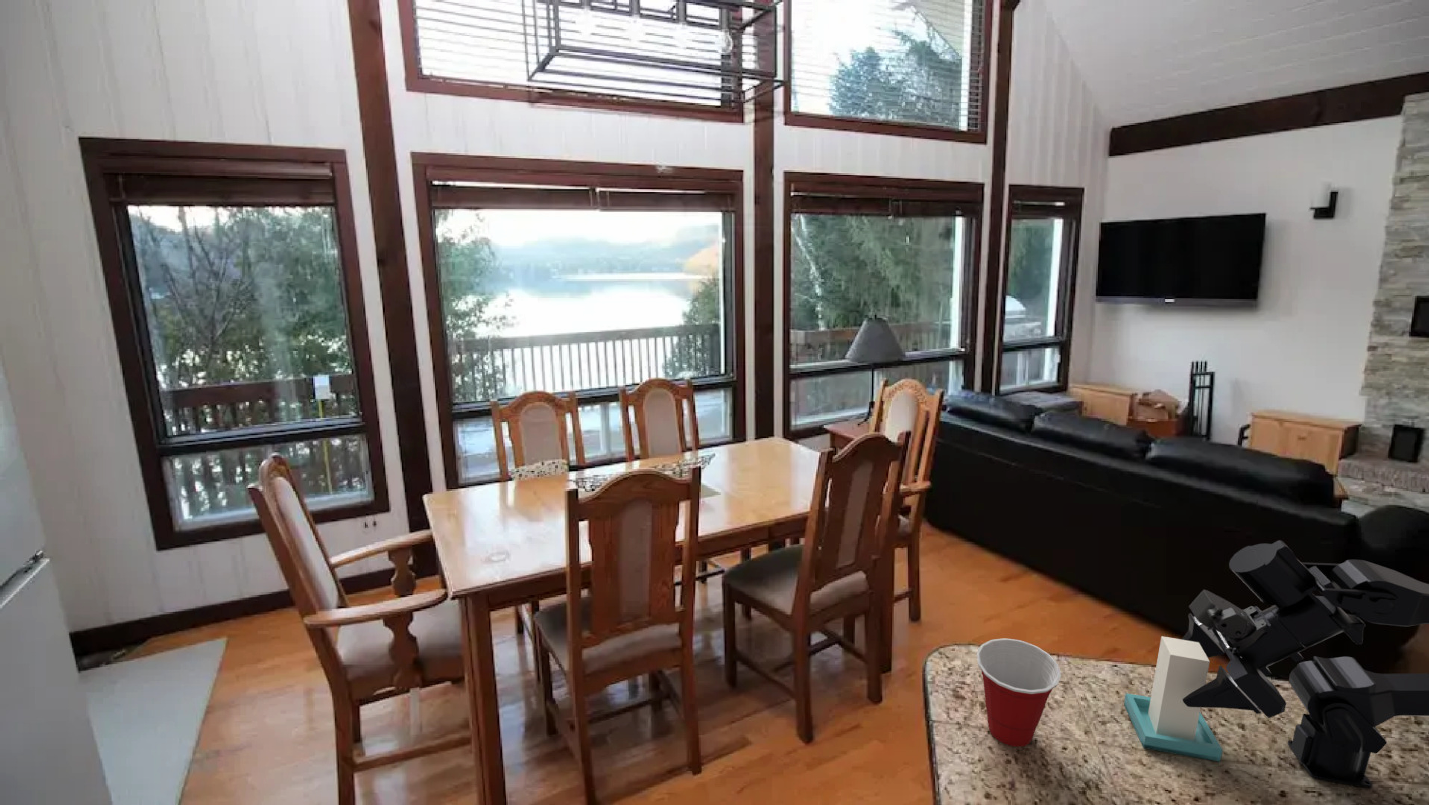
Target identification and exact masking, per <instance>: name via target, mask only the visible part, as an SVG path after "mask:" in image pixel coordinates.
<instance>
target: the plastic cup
mask: <svg viewBox="0 0 1429 805" xmlns="http://www.w3.org/2000/svg"><path fill="white" fill-rule="evenodd" d="M976 659H977V660H976V661H977V666H978V667H979V669H980V671H981V675H982V680H983V691H984V702H985V709H986V715H987V716H986V717H987V725H988V728H989V732H990V733H991V735H992V737H993V738H995V739H997V741H998V742H1001V743H1003V744H1005V745H1007V746H1010V747H1014V748H1015V747H1016V748H1018V747H1019V748H1020V747H1026V746H1027V745H1029V744H1030V742H1032V740H1033V738H1034V735H1035V733H1036V729H1037V727H1038V725H1039V723H1040V720H1041V719H1042V718H1041V717H1042V715H1043V713H1044V709H1045V707H1046V704H1047V701H1048V699H1049V696H1050V694H1051V693H1052V691H1053V689H1054V688H1056V687H1057V686H1058V685H1059V683H1060V679H1061V677H1062V672H1061V668H1060V665H1059V664H1058V662H1057V661H1056V660H1055V659H1054V658H1053V657H1052V656H1051V655H1050V653H1049V652H1046V651H1045V650H1043V649H1042V648H1040V647H1039V646H1037V645H1034V644H1032V643H1030V642H1027V641H1023V640H1020V639H1013V638H1004V637H1003V638H996V639H995V638H994V639H990V640H989V641H986V642H984V643H983V644H981V645H980V646H979V648H978V649H977V652H976Z"/></svg>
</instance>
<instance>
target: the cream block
mask: <svg viewBox="0 0 1429 805" xmlns="http://www.w3.org/2000/svg"><path fill="white" fill-rule="evenodd" d="M1181 639H1182V638H1181ZM1181 639H1180V638H1174V637H1168V636H1161V637H1160V642H1159V649H1158V655H1157V660H1156V666H1155V671H1154V678H1153V682H1152V683H1153V684H1152V687H1151V688H1152V689H1151V695H1150V697H1151V700H1150V705H1149V711H1148V714H1149V717H1150V720H1151V722H1152V725H1153V728H1154V730H1155V733H1156V734H1158V735H1164V736H1170V737H1176V738H1182V739H1187V740H1193V741H1194V739H1195V734H1196V729H1197V724H1198V719H1199V713H1201V709H1202V707H1188V706H1186V704H1185V703H1184V702H1183V700H1182V699H1183V698H1185V697H1186V696H1187V695H1189V694H1190V693H1192V692H1194V691H1195V690H1197V689H1199V688H1200V687H1202V686H1204V685H1206V684H1207V683H1206V681H1207V677H1208V672H1209V667H1210V662H1211V661H1210V660H1209V658H1207V656H1206V654H1205V652H1204V651H1203V649H1202V647H1201V645H1200V644H1199V642H1193V641H1187V640H1181Z"/></svg>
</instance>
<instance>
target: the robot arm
mask: <svg viewBox="0 0 1429 805" xmlns="http://www.w3.org/2000/svg"><path fill="white" fill-rule="evenodd" d="M1228 565H1229V569H1230V570H1231V571H1232V572H1233V573H1234V574H1235V575H1236V577H1238V578H1239V579H1240V580H1241V581H1242V583H1244V584H1245V585H1246V586H1247V587H1248V589H1249V590H1250V591H1251V592H1252V593H1253V594H1254V595H1255V596H1256V597H1257V598H1258V599H1259V600H1260V602H1262V603H1264V604H1265V605H1271V607H1267V608H1266V609H1264V610H1261V609H1260V608H1259V607H1258V606H1256V605H1255V606H1252V605H1250V606H1249V607H1247V608H1244V609H1241V608H1240V607H1238V606H1237V605H1235V604H1233V603H1231V602H1230V601H1228V600H1226V599H1225V598H1223V597H1221V596H1219V595H1216V594H1215V593H1213V592H1211V591H1209V590H1206V589H1202V591H1201V592H1200V593H1199V594H1198V595H1197V597H1195V599H1194V600H1193V601H1192V602H1191V604H1189V606H1188V608H1189V609H1190V611H1191V612H1192V613H1188V616H1187V617H1188V621H1189V622H1188V630H1187V631H1186V632H1185V633H1184V636H1183V637H1182V638H1181V640H1187V641H1193V642H1199V644H1200V645H1201V647H1202V649H1203V651H1204V652H1205V654H1206V656H1207V658H1208V659H1209V658H1213V657H1219V656H1222V655H1225V653H1226V655H1227V656H1228V658H1229V660H1230V661H1229V662H1228V663H1227V665H1226V667H1225V668H1224V667H1223V666H1222V665H1220V664H1219V666H1218V669H1217V672H1216V676H1215V678H1214V679H1212V680H1211V681H1209V682H1207V683H1205V685H1204V686H1202V687H1200V688H1199V689H1197V690H1195V691H1194V692H1192V693H1190V694H1189V695H1187V696H1186V697H1185V698H1183V699H1182V700H1183V702H1184V703H1185V704H1186V706H1188V707H1201V708H1208V709H1209V708H1212V709H1213V708H1214V709H1231V710H1232V709H1234V710H1244V711H1252V712H1254V713H1255V714H1256V715H1259V714H1262V713H1263V714H1264V715H1265V716H1266V718H1268V719H1271V718H1273V717H1275V716H1277V715H1281V714H1283V713H1285V711H1286V706H1287V702H1286V701H1285V699H1284V697H1283V696H1282V694H1281V693H1280V691H1279V690H1278V688H1277V686H1276V685H1275V684H1273V682H1272V681H1271V680H1270V679H1269V678H1268V676H1270V675H1271V674H1272V672H1271V671H1270V669H1269V666H1272V665H1274V664H1276V663H1278V662H1281V661H1283V660H1285V659H1287V658H1289V657H1290V658H1291V659H1292V660H1293V661H1294V663H1297V665H1296V666H1295V667H1294V668H1293V669H1292V670H1291V672H1290V673H1289V679H1288V682H1289V684H1290V686H1291V689H1292V690H1293V692H1294V693H1295V694H1296V696H1297V698H1298V699H1299V701H1300V702H1301V704H1302V706H1303V707H1304V708H1305V709H1306V711H1307V712H1308V713H1303V714H1302V716H1301V721H1300V723H1297V724H1296V726H1295V729H1294V733H1293V738H1292V740H1288V741H1287V746H1288V747H1289V748H1290V750H1291V751H1292V753H1293V754H1294V755H1295V756H1296V758H1297V759H1298V761H1300V763H1301V765H1302V766H1303V768H1304V769H1305V770H1306V771H1307V773H1308V774H1309V775H1310V776H1311V777H1312V778H1313V779H1317V780H1322V781H1327V782H1331V783H1340V784H1342V785H1343V784H1345V785H1348V786H1349V785H1350V786H1355V787H1360V788H1367V789H1372V788H1373V785H1374V784H1373V782H1372V781H1371V780H1370V779H1369V777H1367V776H1366V772H1367V769H1368V765H1369V761H1370V758H1371V754H1379V752H1380V751H1381V750H1382V749H1383V748H1384V747H1385V746H1386V745H1387V740H1386V738H1385V737H1384V736H1383V735H1382V733H1381V732H1380V730H1378V728H1377V727H1378V726H1380V725H1382V724H1383V723H1385V722H1387V721H1389V720H1391V719H1393V718H1395V717H1406V716H1407V717H1411V716H1413V717H1414V716H1415V717H1429V672H1423V673H1420V672H1419V673H1413V672H1411V673H1410V672H1409V673H1378V672H1377V673H1376V672H1373V671H1370V670H1366V669H1364V668H1363V667H1362V666H1361V664H1360V663H1359V662H1358V661H1357V659H1356V658H1355V657H1351V656H1339V657H1330V658H1329V657H1327V658H1326V657H1320V656H1316V655H1314V656H1313V660H1308V661H1307V660H1306V661H1302V660H1304V657H1303V656H1302V654H1301V653H1300V652H1303V651H1304V650H1306V649H1310V648H1311V647H1313V646H1316V645H1317V644H1320V643H1322V642H1324V641H1325V640H1328V639H1330V638H1333V637H1335V636H1336V635H1339V634H1341V633H1345V634H1346V635H1347V636H1348V637H1349V638H1350V639H1351V641H1352V642H1354V643H1355V644H1356V645H1362V644H1363V641H1364V628H1365V627H1366V623H1365V622H1368V623H1370V624H1375V625H1388V626H1395V627H1397V626H1398V627H1412V626H1413V627H1414V626H1418V625H1429V583H1426V582H1423V581H1420V580H1417V579H1415V578H1413V577H1411V576H1408V575H1406V574H1404V573H1402V572H1399V571H1397V570H1395V569H1391V568H1388V567H1385V566H1382V565H1379V564H1376V563H1374V562H1370V561H1367V560H1363V559H1354V558H1353V559H1347V560H1345V561H1344V562H1342V563H1332V562H1331V563H1329V562H1327V563H1326V562H1304V561H1303V562H1301V561H1300V560H1299V559H1298V558H1297V557H1296V555H1295V553H1294V552H1293V551H1292V550H1291V549H1290V548H1289V547H1288V545H1287V544H1286V543H1285V542H1284V541H1283V540H1277V541H1274V542H1273V543H1258V544H1254V545H1246V546H1244V547H1243V548H1241V549H1240V550H1238V551H1237V552H1236V553H1234V554H1233V556H1232V557H1231V558H1230V560H1229V563H1228ZM1314 591H1318V592H1319V593H1320V594H1321V595H1315V594H1314V593H1313V592H1314ZM1344 610H1346V611H1348V612H1349V611H1350V612H1351V613H1352V614H1350V613H1346V612H1345V611H1344ZM1226 670H1227V671H1226Z"/></svg>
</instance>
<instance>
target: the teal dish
mask: <svg viewBox="0 0 1429 805" xmlns="http://www.w3.org/2000/svg"><path fill="white" fill-rule="evenodd" d="M1150 700H1151V696H1146V695H1139V694H1134V693H1127V692H1126V693H1125V695H1124V702H1123V706H1124V708H1125V710H1126V713H1127V715H1128V718H1129V720H1130V721H1131V724H1132V726H1133V728H1134V730H1135V732H1136V734H1137V736H1138V739H1139V741H1140V744H1141V746H1142V748H1143V749H1146V750H1151V751H1152V750H1153V751H1159V752H1164V753H1169V754H1175V755H1180V756H1185V757H1191V758H1197V759H1203V760H1207V761H1208V760H1209V761H1213V762H1218V763H1219V762H1221V759H1222V754H1223V748H1222V746H1221V744H1220V743H1219V741H1218V738H1216V736H1215V734H1214V732H1213V731H1212V729H1211V728H1210V726H1209V724H1208V723H1207V721H1206V719H1205V718H1204V716H1203V715H1202V713H1201V712H1200V713H1199V719H1198V724H1197V729H1196V734H1195V739H1194V741H1193V740H1187V739H1182V738H1176V737H1170V736H1164V735H1158V734H1156V733H1155V730H1154V728H1153V725H1152V722H1151V720H1150V717H1149V714H1148V711H1149V705H1150Z"/></svg>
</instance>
